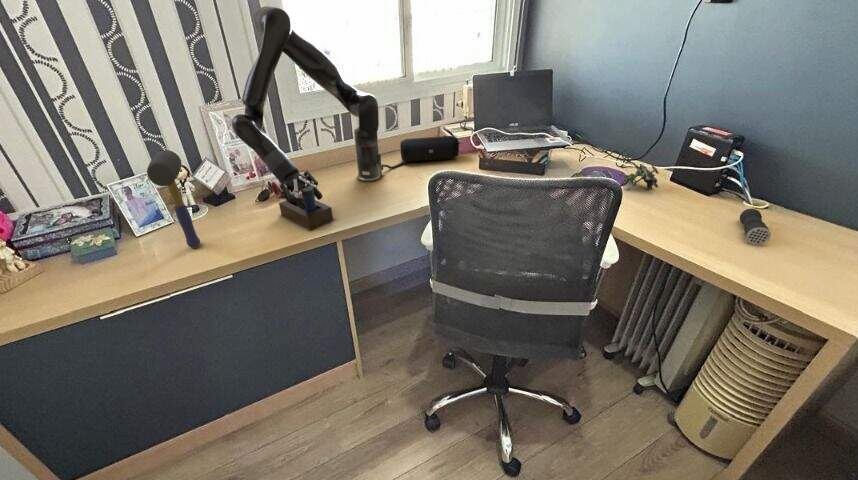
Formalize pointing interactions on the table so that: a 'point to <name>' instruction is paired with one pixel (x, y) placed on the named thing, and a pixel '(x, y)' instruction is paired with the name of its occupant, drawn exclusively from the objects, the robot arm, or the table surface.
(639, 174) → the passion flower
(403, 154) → the portable speaker
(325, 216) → the holder
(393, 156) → the table surface
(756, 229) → the flashlight
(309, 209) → the handle
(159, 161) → the rubber mallet
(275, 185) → the toy hammer
